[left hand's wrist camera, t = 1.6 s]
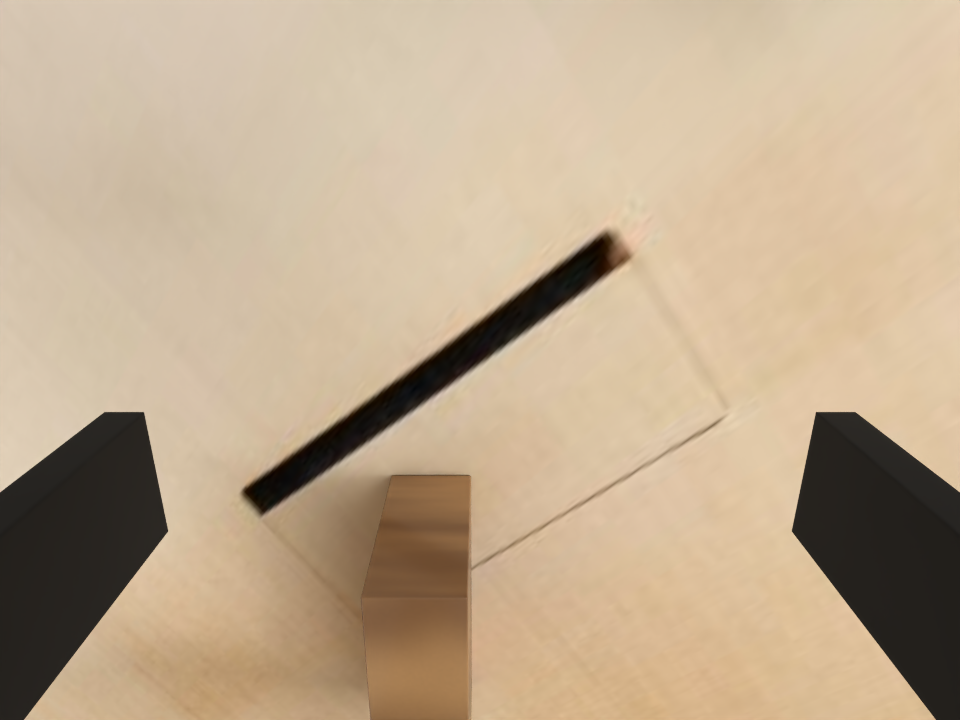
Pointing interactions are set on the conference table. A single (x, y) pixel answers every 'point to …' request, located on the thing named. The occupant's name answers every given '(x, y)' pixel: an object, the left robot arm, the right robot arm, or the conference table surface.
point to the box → (420, 602)
